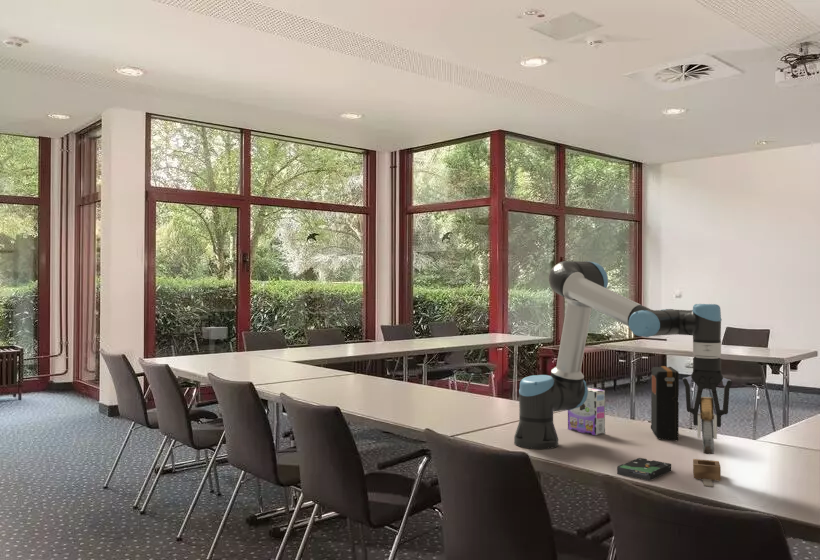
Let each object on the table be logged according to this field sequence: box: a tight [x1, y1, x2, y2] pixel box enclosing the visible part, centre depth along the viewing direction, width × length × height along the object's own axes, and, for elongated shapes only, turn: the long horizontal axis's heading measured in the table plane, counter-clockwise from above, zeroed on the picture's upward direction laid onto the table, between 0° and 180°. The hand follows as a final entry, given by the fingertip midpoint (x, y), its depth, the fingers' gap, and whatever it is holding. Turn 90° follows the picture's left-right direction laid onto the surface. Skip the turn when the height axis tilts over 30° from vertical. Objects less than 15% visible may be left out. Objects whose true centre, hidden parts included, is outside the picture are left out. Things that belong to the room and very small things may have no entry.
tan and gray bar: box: [699, 396, 715, 455], centre depth 199 cm, size 4×4×16 cm
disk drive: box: [616, 457, 672, 482], centre depth 204 cm, size 10×3×15 cm
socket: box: [692, 458, 722, 482], centre depth 199 cm, size 7×7×4 cm
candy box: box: [567, 387, 606, 436], centre depth 259 cm, size 14×6×16 cm, turn 34°
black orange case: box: [650, 365, 680, 441], centre depth 252 cm, size 16×9×25 cm, turn 168°
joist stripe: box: [702, 478, 714, 488], centre depth 199 cm, size 2×21×1 cm, turn 159°
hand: (706, 437), depth 199 cm, fingers closed on tan and gray bar, 4 cm apart
